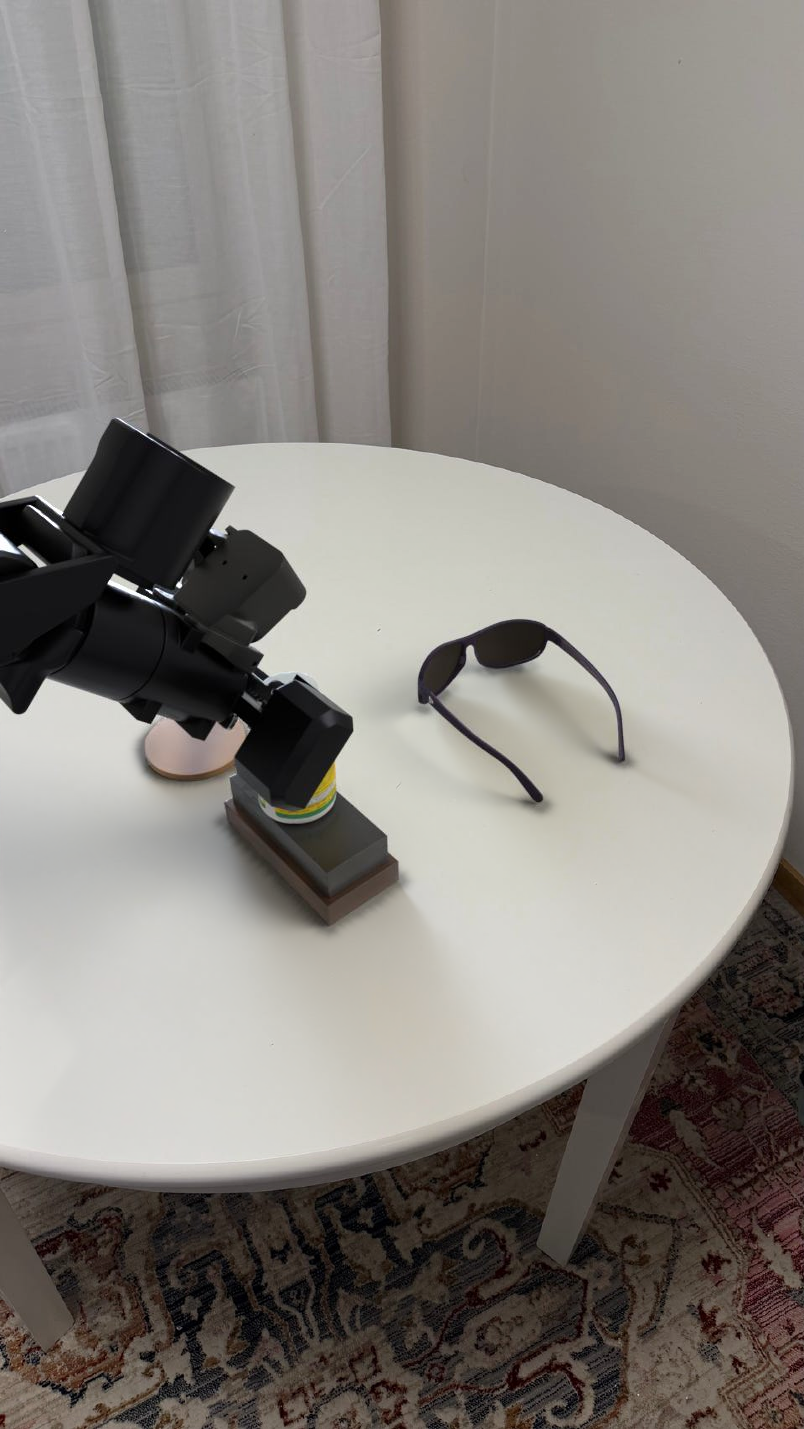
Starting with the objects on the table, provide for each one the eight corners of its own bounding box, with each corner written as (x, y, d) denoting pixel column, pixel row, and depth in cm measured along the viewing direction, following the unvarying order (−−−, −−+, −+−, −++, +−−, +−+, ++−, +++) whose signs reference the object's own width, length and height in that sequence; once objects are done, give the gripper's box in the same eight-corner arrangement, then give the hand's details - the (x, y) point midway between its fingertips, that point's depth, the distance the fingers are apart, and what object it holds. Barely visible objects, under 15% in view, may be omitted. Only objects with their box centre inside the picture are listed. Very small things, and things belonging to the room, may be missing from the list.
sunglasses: (526, 649, 89) (530, 602, 86) (653, 748, 79) (662, 699, 76) (398, 705, 84) (397, 657, 80) (517, 819, 74) (521, 770, 70)
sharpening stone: (399, 880, 69) (398, 836, 66) (329, 926, 66) (325, 882, 64) (293, 783, 77) (288, 739, 74) (226, 820, 74) (218, 776, 71)
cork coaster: (156, 792, 76) (155, 786, 76) (136, 727, 82) (135, 722, 81) (258, 764, 78) (257, 758, 78) (232, 703, 84) (231, 697, 84)
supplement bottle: (242, 803, 69) (226, 694, 63) (296, 761, 72) (285, 653, 66) (300, 839, 66) (289, 729, 60) (353, 794, 69) (348, 685, 63)
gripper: (313, 590, 47) (475, 680, 59) (116, 455, 57) (288, 555, 70) (191, 790, 48) (375, 836, 60) (20, 620, 59) (206, 690, 71)
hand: (308, 717), depth 65 cm, fingers closed on supplement bottle, 5 cm apart
